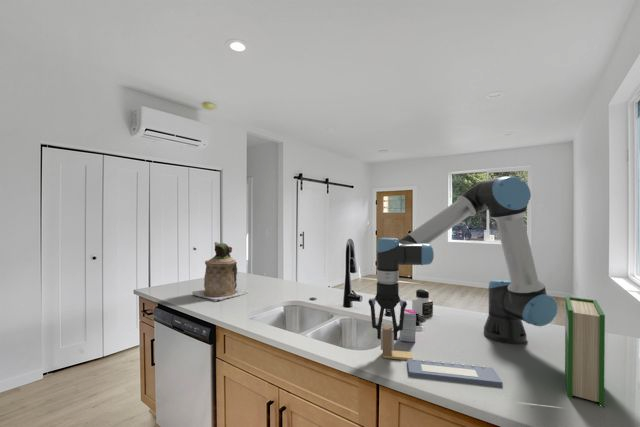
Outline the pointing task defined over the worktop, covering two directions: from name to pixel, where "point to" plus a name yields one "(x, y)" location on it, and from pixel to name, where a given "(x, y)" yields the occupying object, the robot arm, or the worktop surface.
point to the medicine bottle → (422, 303)
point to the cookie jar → (220, 276)
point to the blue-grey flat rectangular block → (454, 372)
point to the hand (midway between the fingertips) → (387, 348)
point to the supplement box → (408, 327)
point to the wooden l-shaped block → (388, 346)
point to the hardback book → (584, 349)
